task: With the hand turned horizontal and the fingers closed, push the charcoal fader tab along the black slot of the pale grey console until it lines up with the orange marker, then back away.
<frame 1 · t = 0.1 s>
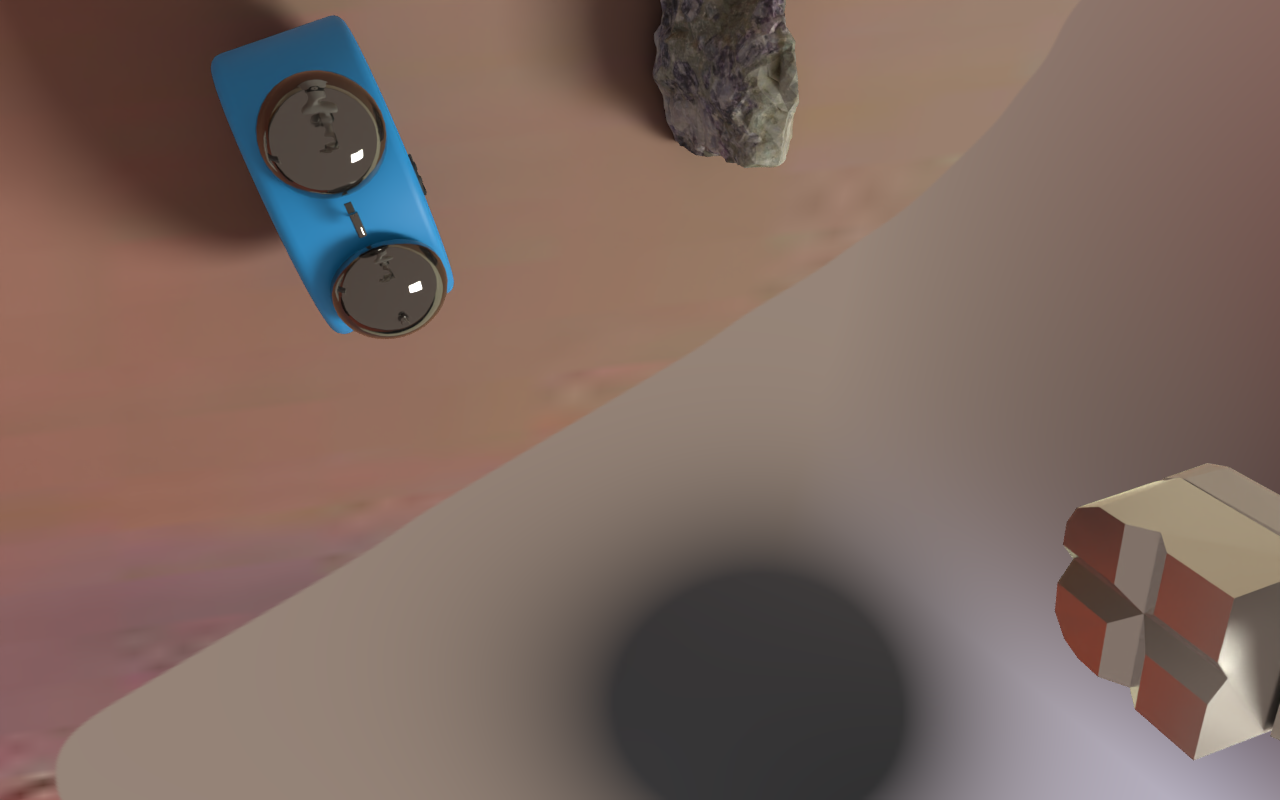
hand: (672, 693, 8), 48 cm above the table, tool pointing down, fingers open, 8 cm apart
mineral rock: (715, 31, 56), on the table
alarm clock: (327, 148, 51), on the table
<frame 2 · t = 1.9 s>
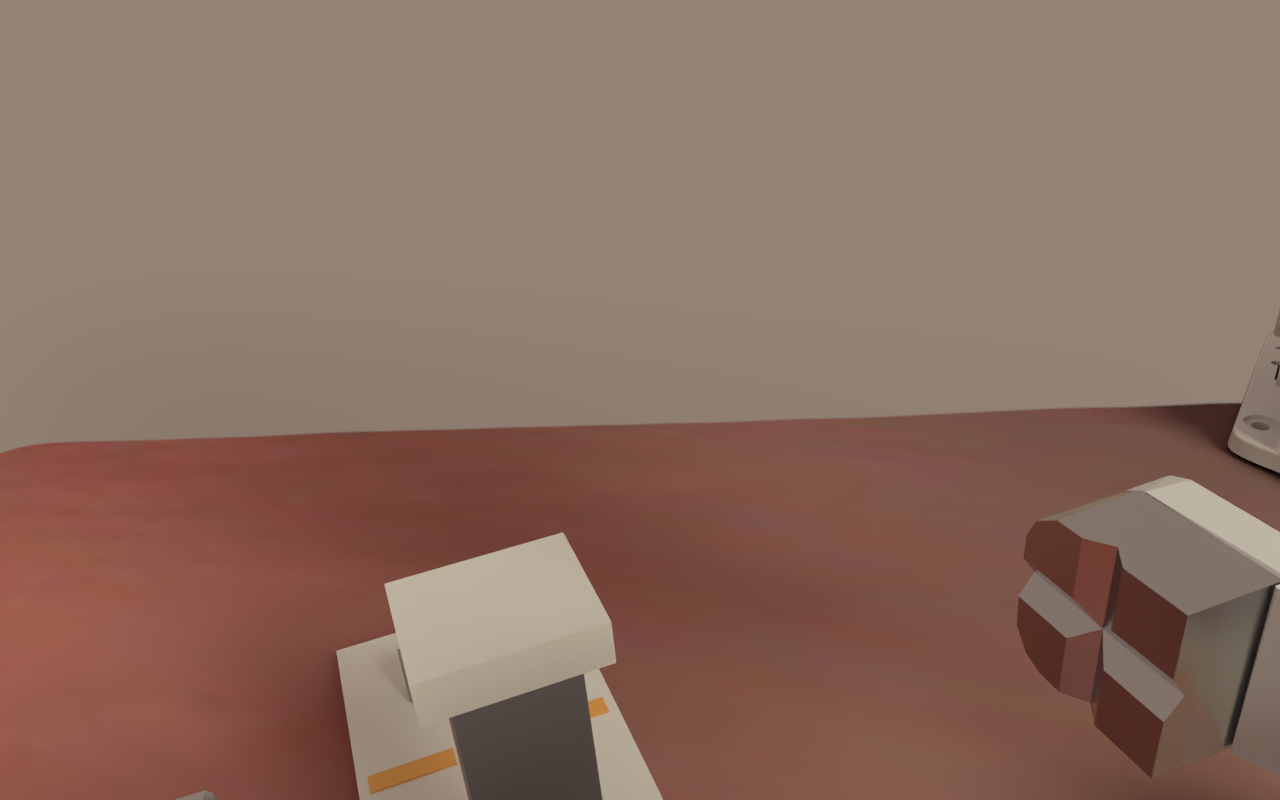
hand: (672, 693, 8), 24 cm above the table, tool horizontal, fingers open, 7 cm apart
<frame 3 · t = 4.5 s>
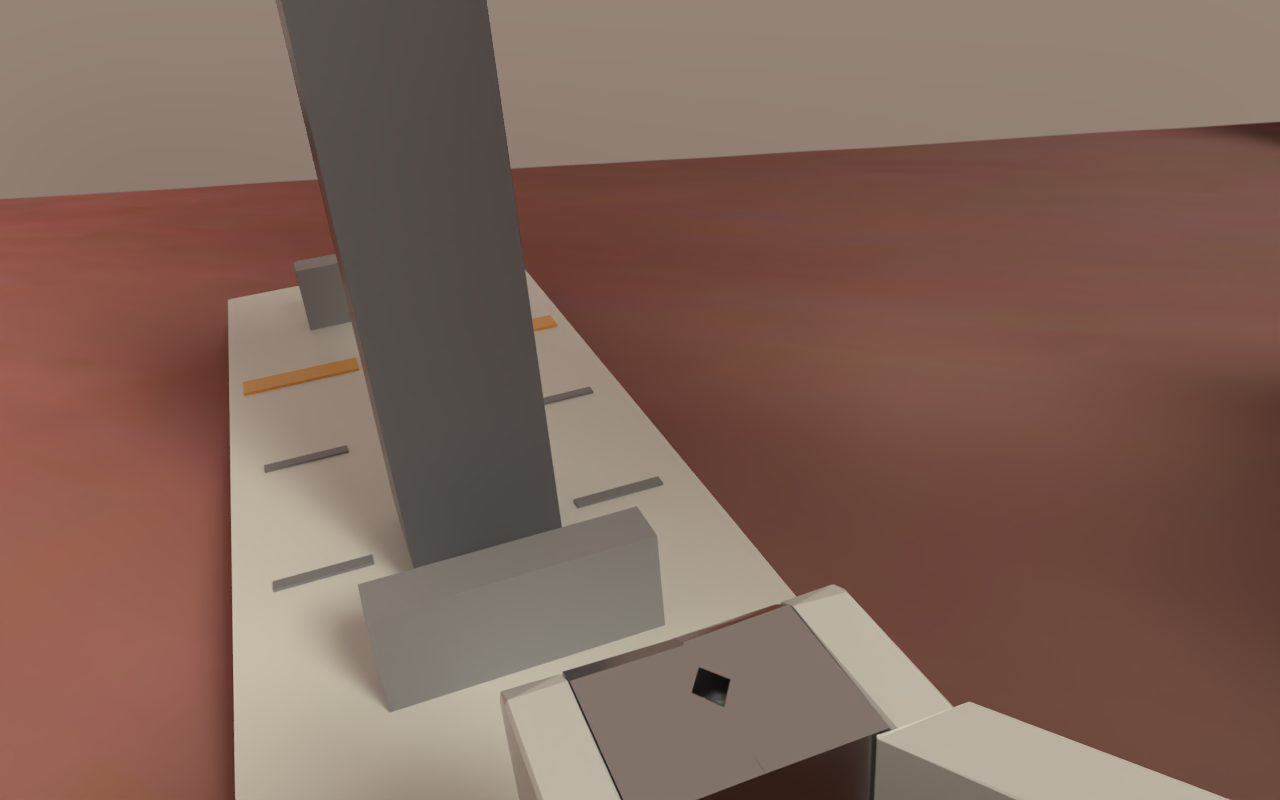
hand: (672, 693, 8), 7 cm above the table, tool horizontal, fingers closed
console: (445, 478, 26), on the table
fader tab: (411, 186, 18), point 9 cm above the table, slide at 0.0 cm
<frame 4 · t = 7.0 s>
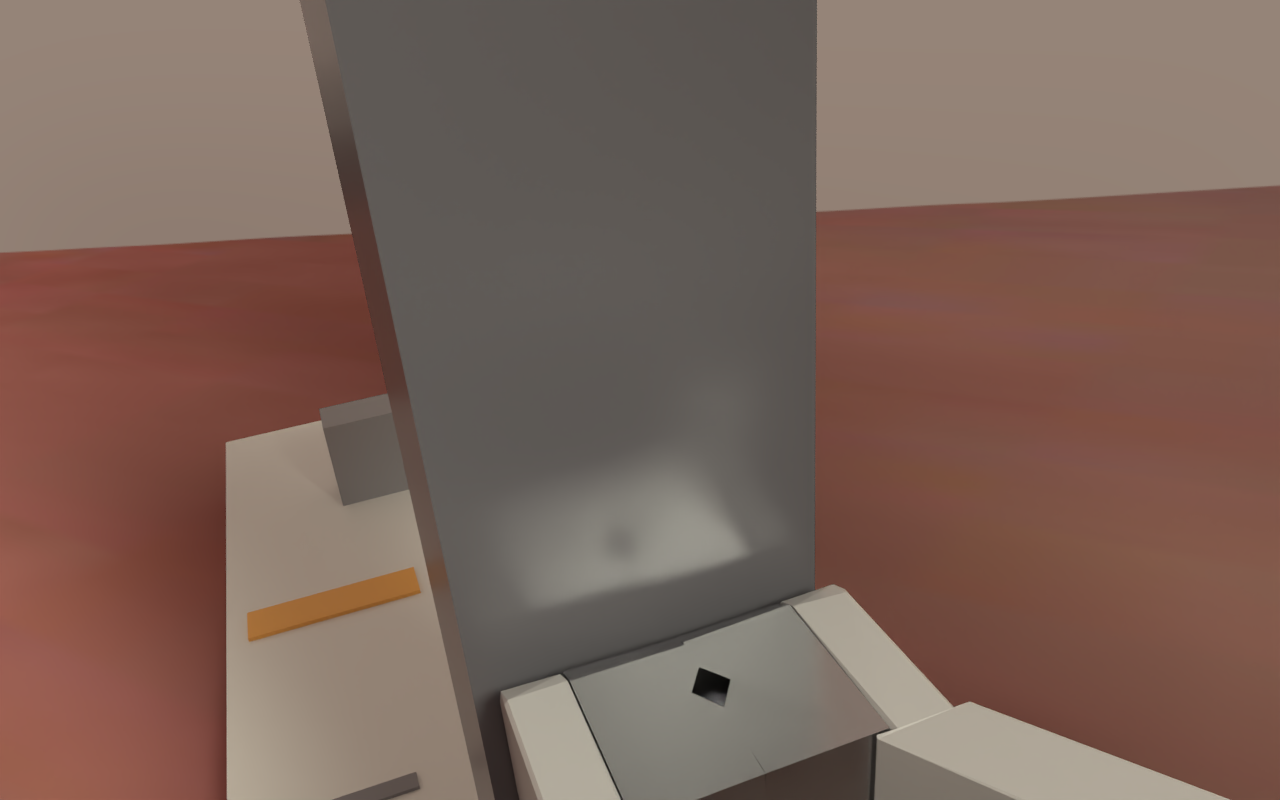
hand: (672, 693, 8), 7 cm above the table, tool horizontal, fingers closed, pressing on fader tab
fader tab: (583, 448, 9), point 9 cm above the table, slide at 0.9 cm, touching gripper
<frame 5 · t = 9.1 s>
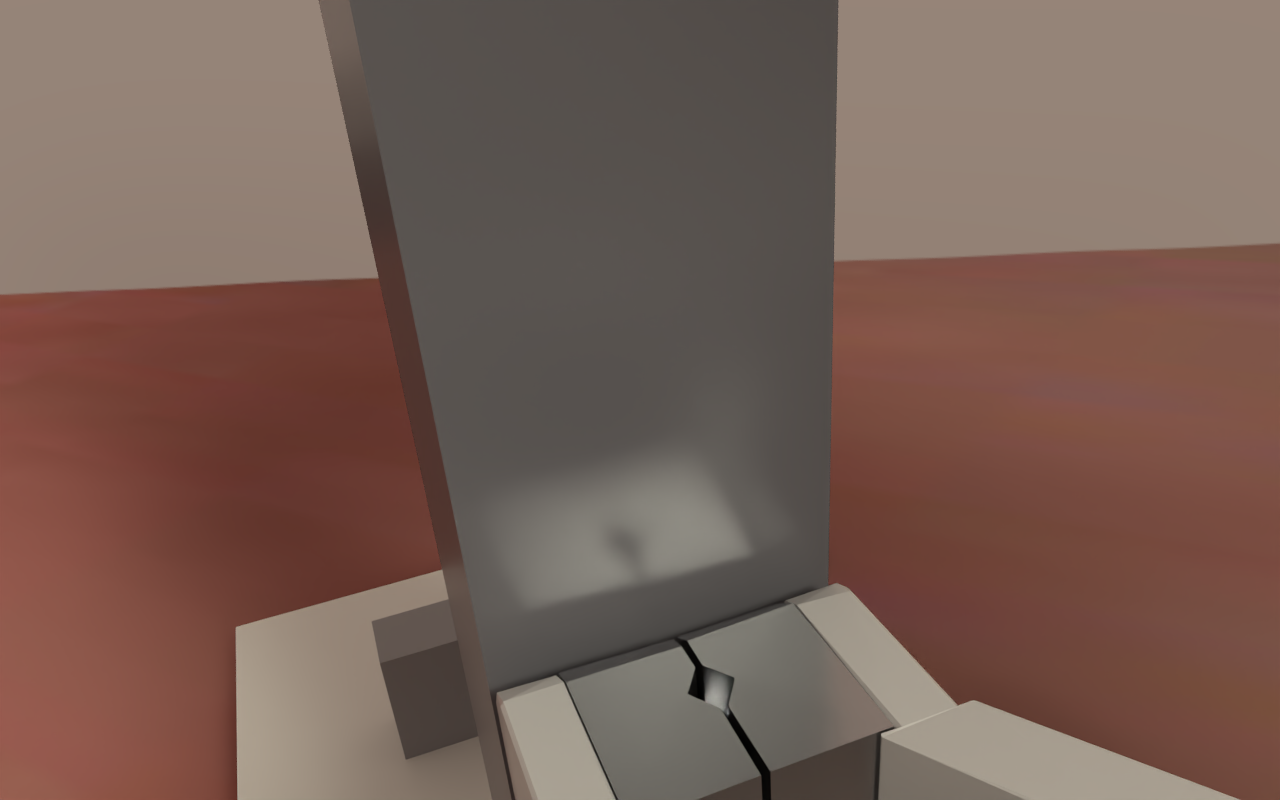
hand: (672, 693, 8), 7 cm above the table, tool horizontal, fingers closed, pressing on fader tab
fader tab: (597, 435, 9), point 9 cm above the table, slide at 9.2 cm, touching gripper
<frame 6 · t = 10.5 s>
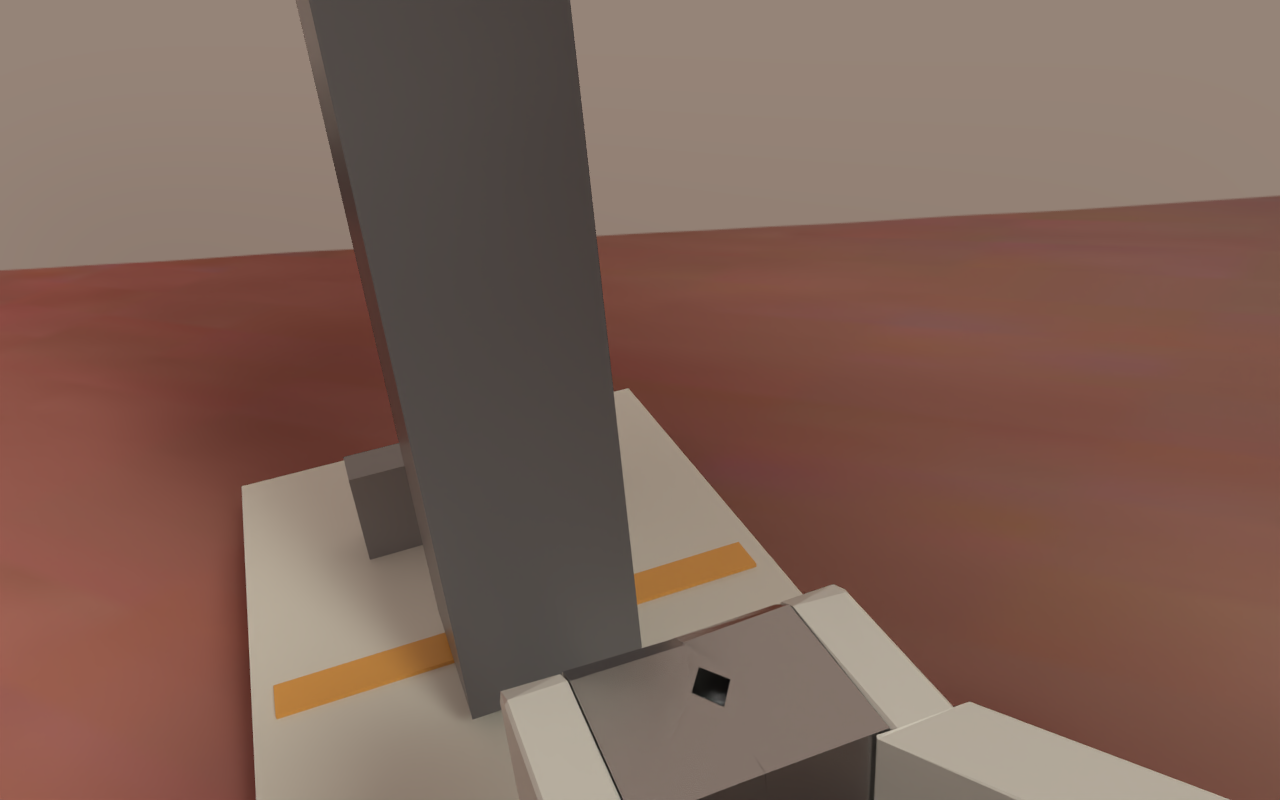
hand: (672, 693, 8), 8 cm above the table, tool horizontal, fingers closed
fader tab: (470, 263, 15), point 9 cm above the table, slide at 9.2 cm
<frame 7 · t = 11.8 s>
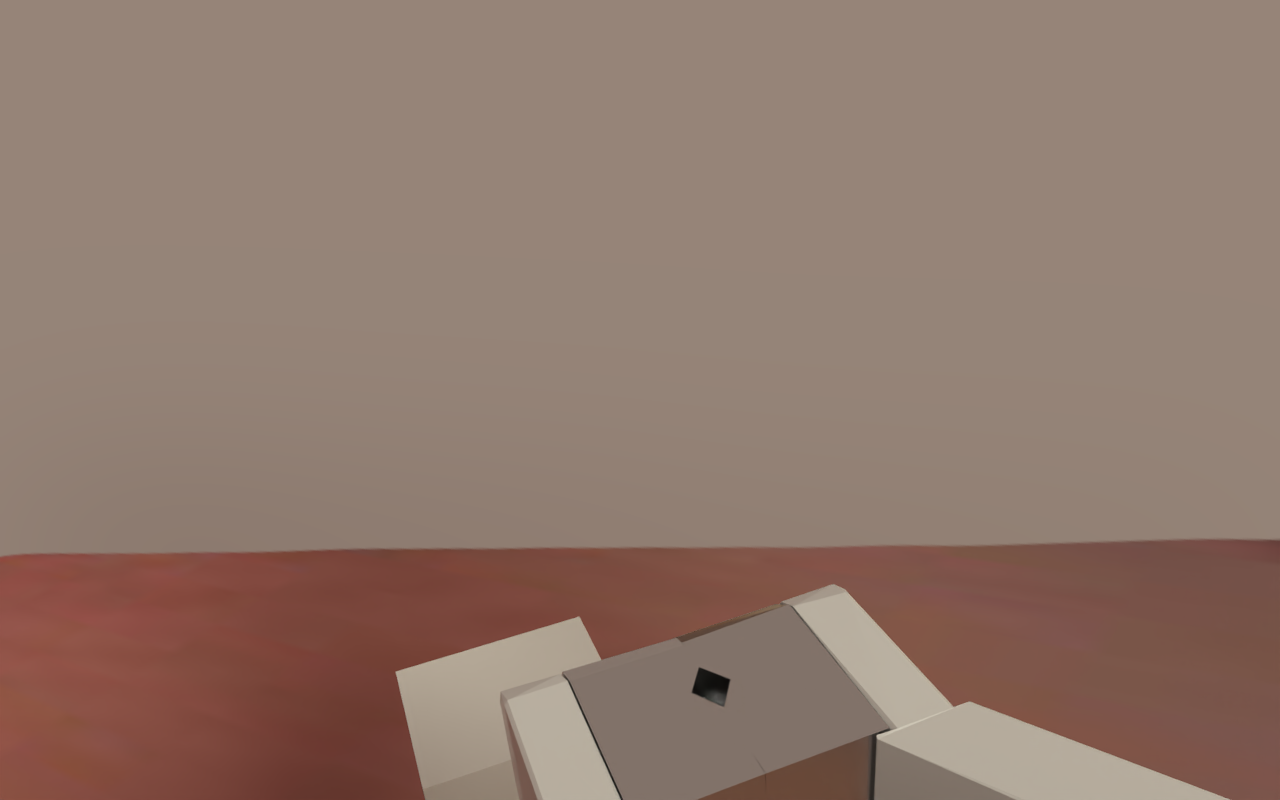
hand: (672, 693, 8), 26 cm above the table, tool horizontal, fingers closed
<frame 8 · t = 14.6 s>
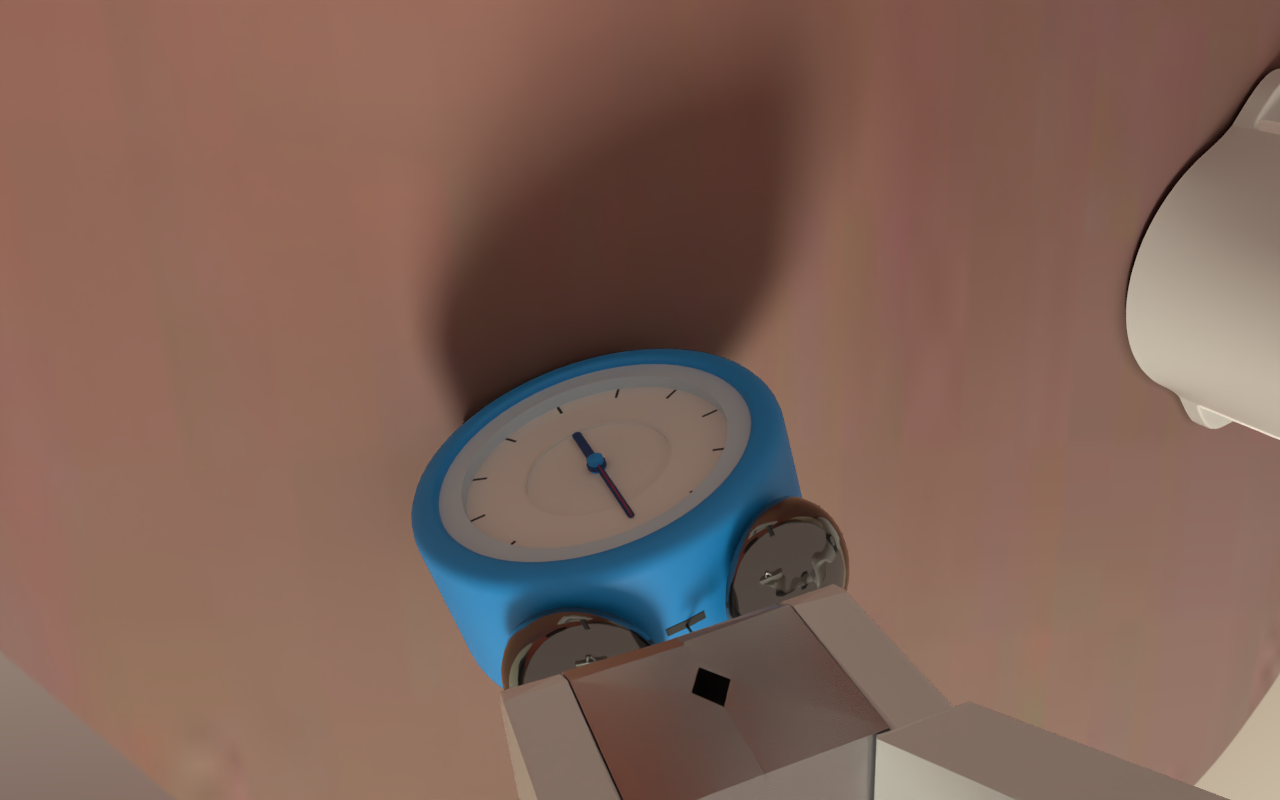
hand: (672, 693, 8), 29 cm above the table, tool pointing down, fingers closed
alarm clock: (559, 429, 41), on the table
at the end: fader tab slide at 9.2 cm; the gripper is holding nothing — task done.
